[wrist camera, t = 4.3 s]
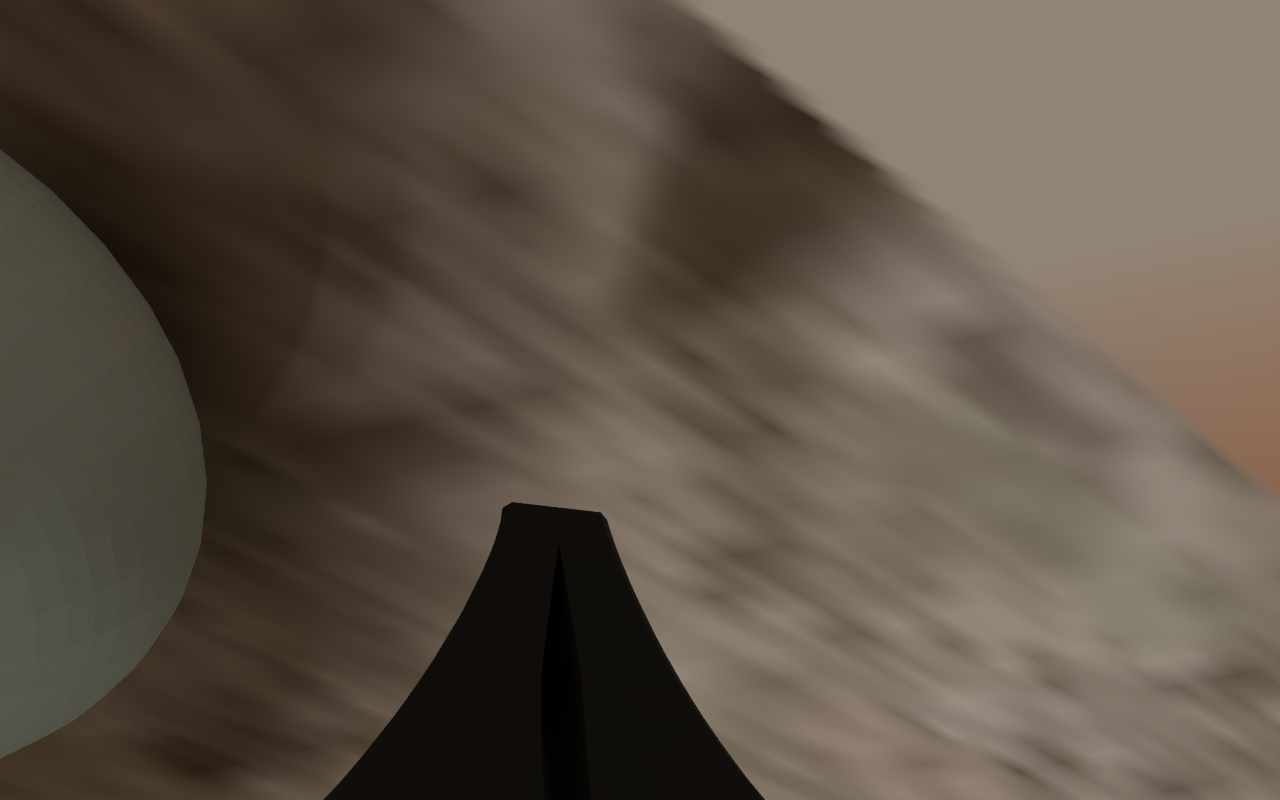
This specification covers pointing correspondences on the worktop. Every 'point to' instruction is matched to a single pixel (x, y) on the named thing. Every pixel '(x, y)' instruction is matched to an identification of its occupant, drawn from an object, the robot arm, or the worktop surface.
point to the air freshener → (83, 467)
